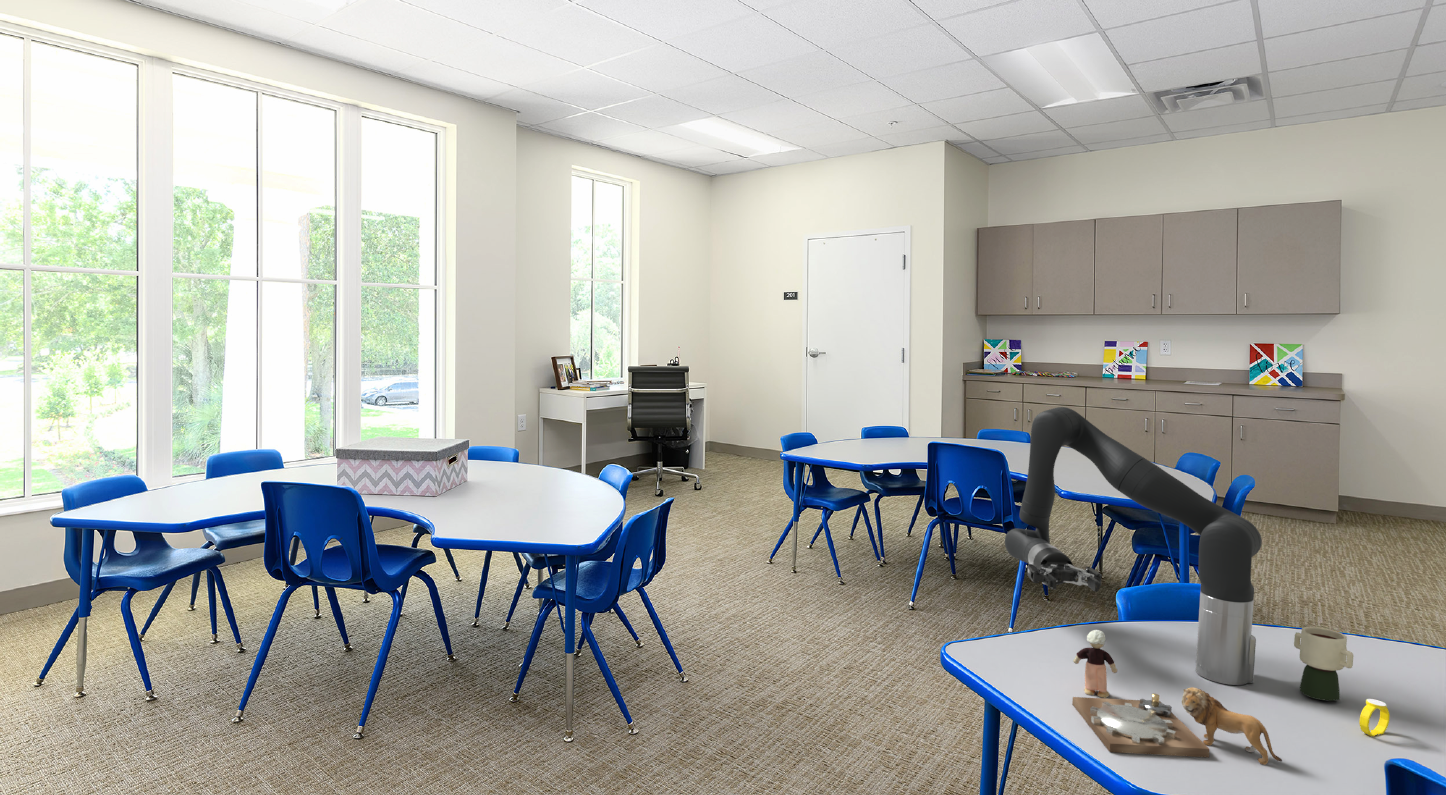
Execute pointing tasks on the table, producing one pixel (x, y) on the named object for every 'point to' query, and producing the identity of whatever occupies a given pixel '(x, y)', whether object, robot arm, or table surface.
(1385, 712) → the watch
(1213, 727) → the lion figurine
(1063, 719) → the table surface
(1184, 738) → the gear board
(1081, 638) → the table surface
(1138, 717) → the gear
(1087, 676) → the grandmother figurine
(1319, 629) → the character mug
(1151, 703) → the gear
